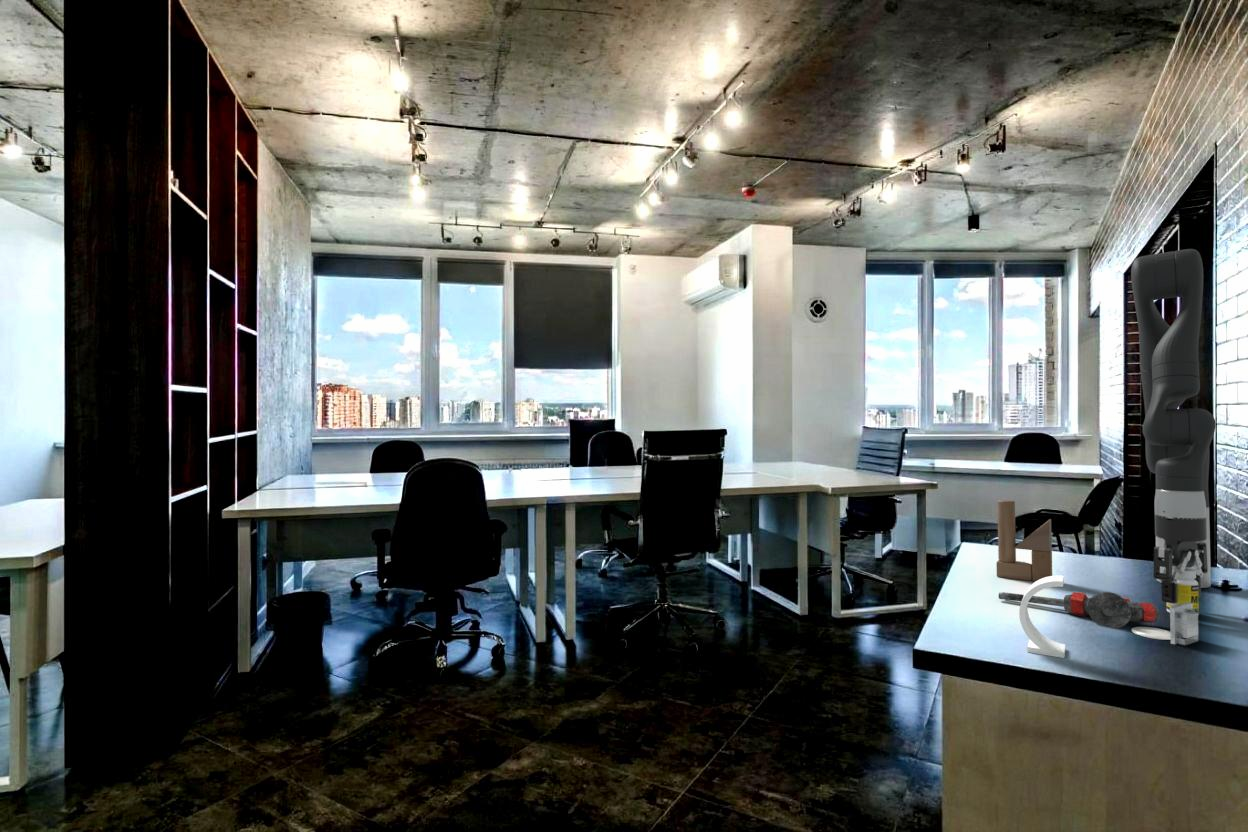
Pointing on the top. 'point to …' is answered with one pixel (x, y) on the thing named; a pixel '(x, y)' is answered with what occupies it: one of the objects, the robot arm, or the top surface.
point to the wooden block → (1022, 547)
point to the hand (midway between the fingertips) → (1181, 599)
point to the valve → (1098, 607)
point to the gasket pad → (1152, 633)
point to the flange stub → (1183, 624)
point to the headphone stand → (1036, 639)
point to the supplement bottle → (1187, 590)
